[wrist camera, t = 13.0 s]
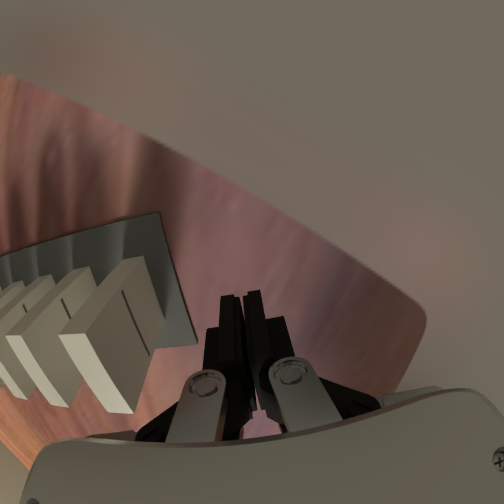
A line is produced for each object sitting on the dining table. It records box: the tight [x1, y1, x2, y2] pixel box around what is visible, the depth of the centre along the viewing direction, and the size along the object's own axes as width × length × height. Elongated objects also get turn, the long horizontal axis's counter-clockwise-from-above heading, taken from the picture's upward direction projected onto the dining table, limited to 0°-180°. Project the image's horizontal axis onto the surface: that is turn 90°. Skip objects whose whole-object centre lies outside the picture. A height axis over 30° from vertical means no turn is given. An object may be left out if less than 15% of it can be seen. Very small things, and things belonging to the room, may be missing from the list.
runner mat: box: [0, 212, 198, 349], centre depth 18 cm, size 10×26×1 cm, turn 99°
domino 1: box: [0, 280, 25, 390], centre depth 14 cm, size 2×5×8 cm, turn 9°
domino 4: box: [58, 256, 165, 414], centre depth 14 cm, size 2×5×8 cm, turn 9°
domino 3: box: [5, 266, 97, 407], centre depth 14 cm, size 2×5×8 cm, turn 10°
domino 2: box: [0, 274, 56, 400], centre depth 14 cm, size 2×5×8 cm, turn 10°
